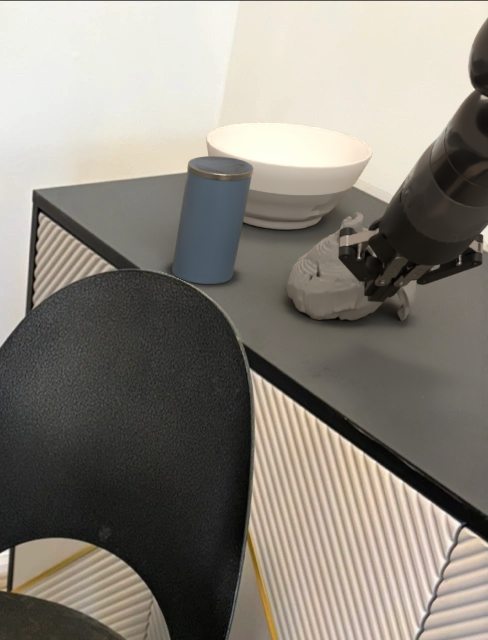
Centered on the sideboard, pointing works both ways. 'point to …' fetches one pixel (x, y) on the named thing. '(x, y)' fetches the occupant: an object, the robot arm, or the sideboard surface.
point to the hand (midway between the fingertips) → (375, 292)
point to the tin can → (211, 219)
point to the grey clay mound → (336, 282)
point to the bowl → (291, 169)
